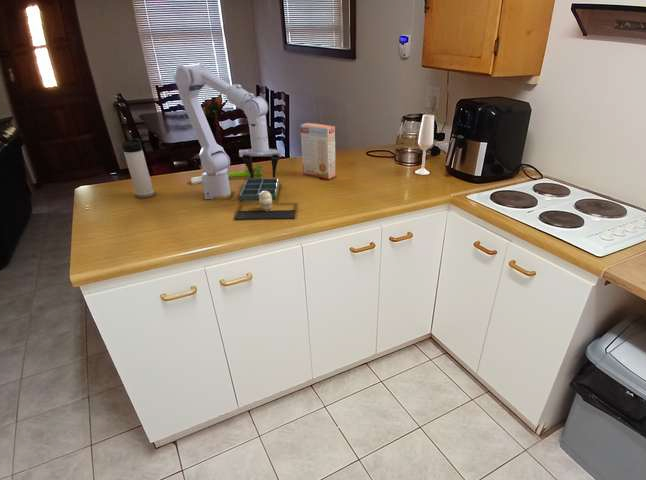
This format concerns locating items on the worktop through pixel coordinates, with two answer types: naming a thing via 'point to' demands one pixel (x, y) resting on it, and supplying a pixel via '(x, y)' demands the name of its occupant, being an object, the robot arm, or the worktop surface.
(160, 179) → the worktop surface
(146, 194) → the travel mug
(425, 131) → the champagne flute
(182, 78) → the robot arm
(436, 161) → the worktop surface
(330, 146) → the cracker box
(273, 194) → the teal compartment tray
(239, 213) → the mat
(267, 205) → the egg
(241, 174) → the celery
